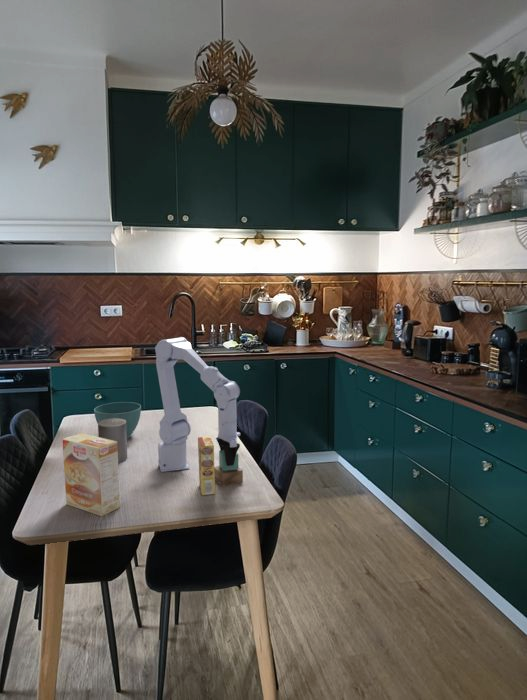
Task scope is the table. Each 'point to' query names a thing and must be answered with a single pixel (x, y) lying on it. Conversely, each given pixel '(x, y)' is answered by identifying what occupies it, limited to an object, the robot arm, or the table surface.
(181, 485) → the table surface
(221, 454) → the teal cube
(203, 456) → the candy box
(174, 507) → the table surface
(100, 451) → the coffeecake box
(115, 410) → the green bowl
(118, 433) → the pillar candle
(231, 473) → the block
